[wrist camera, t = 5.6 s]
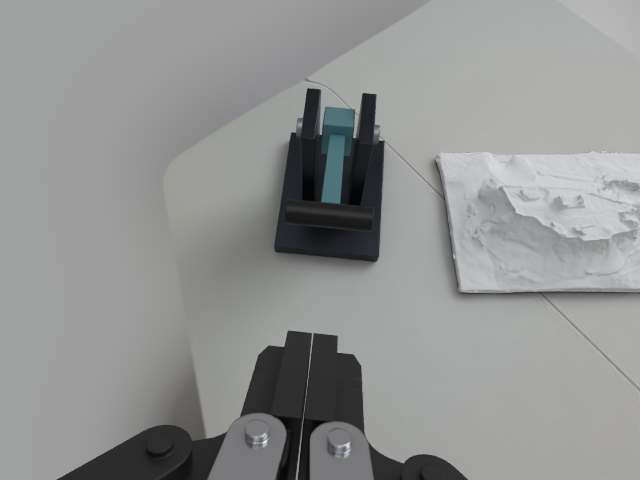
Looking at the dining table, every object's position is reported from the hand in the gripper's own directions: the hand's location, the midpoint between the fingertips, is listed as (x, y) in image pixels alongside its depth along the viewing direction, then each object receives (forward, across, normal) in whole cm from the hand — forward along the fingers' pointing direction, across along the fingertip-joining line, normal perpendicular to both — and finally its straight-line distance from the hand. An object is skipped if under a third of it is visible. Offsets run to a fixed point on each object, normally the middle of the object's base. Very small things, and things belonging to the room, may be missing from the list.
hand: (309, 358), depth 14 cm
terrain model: (+30, -22, +4) cm, 37 cm away
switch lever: (+19, 0, -1) cm, 19 cm away
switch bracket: (+30, 0, +4) cm, 30 cm away
